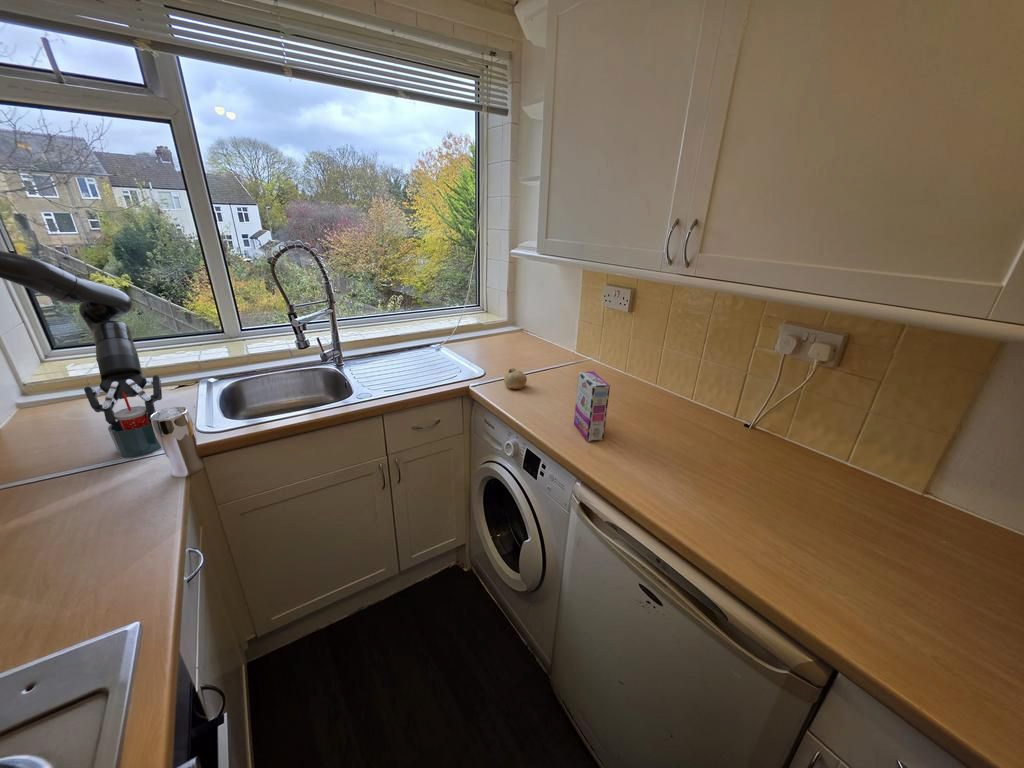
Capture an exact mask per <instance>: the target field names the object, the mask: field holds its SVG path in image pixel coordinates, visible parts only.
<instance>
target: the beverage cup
mask: <svg viewBox="0 0 1024 768" xmlns="http://www.w3.org/2000/svg"><path fill="white" fill-rule="evenodd" d="M122 394H123V397H124V402H125V405H126V407H125V408H122V409H120V410H118V411H116V412H114V417H115V419H116V421H118V423H119V425H120V427H121V429H122V431H126V430H132V429H136V428H140V427H143V426H146V425H148V424H150V422H149V419H148V415H147V411H146V406H145V405H137V406H136V405H135V406H131V405H130V403H129V400H128V397H126V395H125V392H122Z"/></svg>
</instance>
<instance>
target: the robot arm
mask: <svg viewBox="0 0 1024 768" xmlns="http://www.w3.org/2000/svg"><path fill="white" fill-rule="evenodd" d="M0 279H3V280H5V281H8V282H11V283H14V284H17V285H19V286H22V287H24V288H27V289H29V290H32V291H34V292H35V293H39V294H41V295H43V296H45V297H48V298H51V299H52V300H55V301H57V302H59V303H62V304H67V305H73V304H79V306H78V312H79V315H80V317H81V318H82V319H83V321H84V322H85V324H86V325H87V327H88V328H89V330H90V331H91V333H92V334H93V340H94V345H95V356H96V357H95V360H96V362H97V366H98V370H99V376H100V380H101V381H100V384H99V385H97V386H93V387H91V386H85V387H84V388H83V391H84V393H85V396H86V399H87V400H88V403H89V405H90V408H91V409H93V411H94V412H95V413H101V412H102V413H104V418H105V419H104V420H105V421H106V422H107V424H109V425H112V426H115V425H117V423H116V421H117V420H116V419H115V417H114V414H115V411H114V408H115V406H116V405H117V404H118V403H119V400H123V399H124V397H123V394H122V392H125V395H126V397H127V398H134V397H137V396H138V397H139V398H140V399H141V400H143V401H144V407H146V411H147V414H148V417H149V418H150V416H151V415H152V414H153V413H155V412H157V411H156V408H155V403H156V402H157V401H161V400H162V399H163V393H162V380H161V378H160V377H159V375H153V376H152V377H145V376H144V374H143V370H142V366H141V361H140V358H139V354H138V350H137V348H136V346H135V343H134V339H133V333H132V330H131V328H130V327H129V325H128V324H127V323H125V322H122V321H119V320H118V319H119V318H121V317H123V316H125V315H127V314H129V313H130V312H131V311H133V309H134V302H133V300H132V299H131V297H130V296H129V295H128V294H127V293H125V292H124V291H122V290H120V289H118V288H116V287H113V286H110V285H107V284H104V283H100V282H97V281H94V280H93V281H92V280H89V279H85V278H81V277H79V276H76V275H74V274H73V273H71V272H68V271H66V270H64V269H62V268H60V267H58V266H56V265H54V264H51V263H49V262H46V261H43V260H41V259H38V258H34V257H30V256H27V255H26V256H25V255H22V254H17V253H13V252H9V251H4V250H0ZM147 384H149V385H150V386H151V387H152V394H151V395H149V394H148V393H147V392H146V391H145V390H144V388H145V387H146V385H147ZM100 392H104V393H105V394H106V395H105V399H104V401H103V403H102V404H101V403H100V401H99V399H98V397H99V396H100V394H101V393H100ZM124 400H125V399H124Z"/></svg>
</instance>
